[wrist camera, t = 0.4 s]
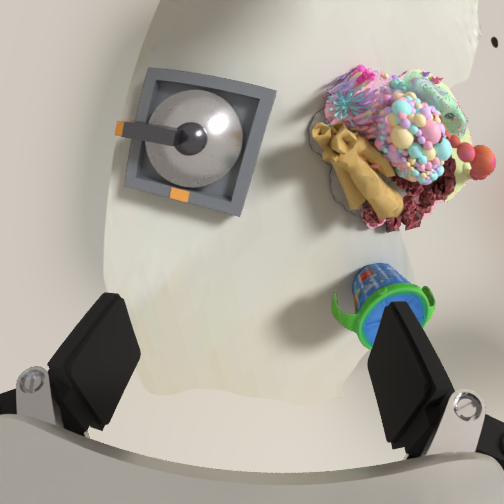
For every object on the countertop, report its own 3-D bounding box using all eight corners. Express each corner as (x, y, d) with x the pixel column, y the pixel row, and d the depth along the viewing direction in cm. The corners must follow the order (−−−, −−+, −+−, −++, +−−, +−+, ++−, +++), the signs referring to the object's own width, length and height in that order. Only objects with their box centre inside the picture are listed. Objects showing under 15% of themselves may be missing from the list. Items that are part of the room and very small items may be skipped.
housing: (158, 71, 30) (147, 67, 27) (276, 93, 31) (276, 90, 28) (134, 181, 37) (123, 186, 34) (242, 209, 38) (239, 217, 35)
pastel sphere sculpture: (378, 256, 40) (399, 289, 32) (273, 130, 34) (273, 132, 25) (486, 161, 31) (523, 174, 23) (404, 30, 25) (435, 12, 17)
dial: (255, 102, 30) (252, 99, 26) (229, 194, 35) (222, 205, 31) (144, 82, 29) (126, 78, 25) (127, 169, 35) (108, 176, 30)
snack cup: (424, 255, 39) (455, 289, 30) (406, 310, 43) (427, 349, 34) (333, 247, 39) (348, 285, 30) (321, 307, 44) (330, 352, 35)
